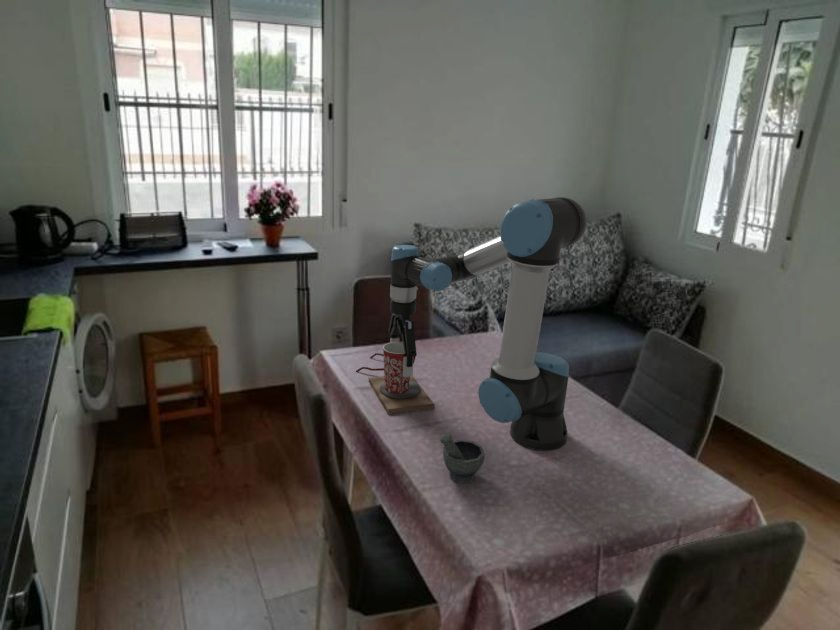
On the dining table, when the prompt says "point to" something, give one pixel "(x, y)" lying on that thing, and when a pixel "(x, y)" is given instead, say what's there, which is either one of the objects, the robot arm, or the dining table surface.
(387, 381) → the mug
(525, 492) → the dining table surface
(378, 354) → the glasses
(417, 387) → the board
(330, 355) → the dining table surface
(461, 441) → the mortar and pestle
